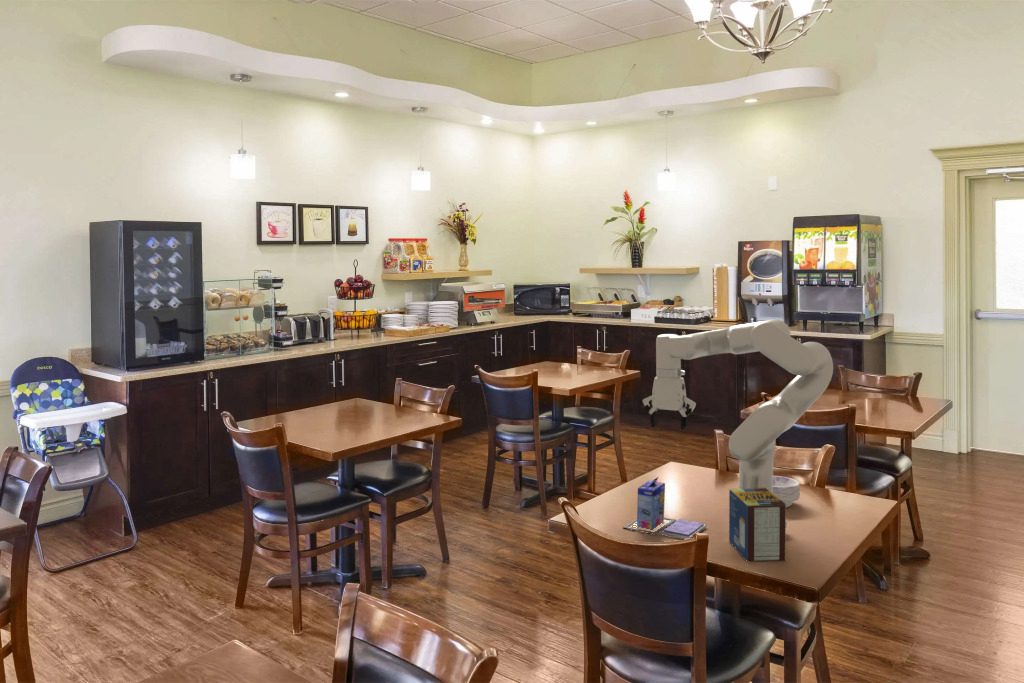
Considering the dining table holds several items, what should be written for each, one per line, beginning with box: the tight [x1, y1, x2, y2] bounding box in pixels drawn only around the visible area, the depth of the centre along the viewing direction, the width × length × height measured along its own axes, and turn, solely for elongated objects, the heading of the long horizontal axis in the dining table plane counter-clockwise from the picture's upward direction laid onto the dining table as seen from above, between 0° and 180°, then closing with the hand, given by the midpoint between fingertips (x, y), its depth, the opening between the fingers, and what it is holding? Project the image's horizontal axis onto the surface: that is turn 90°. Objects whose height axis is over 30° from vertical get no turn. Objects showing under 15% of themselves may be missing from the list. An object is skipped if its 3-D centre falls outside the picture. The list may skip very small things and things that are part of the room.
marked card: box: [622, 516, 677, 535], centre depth 232 cm, size 11×15×1 cm
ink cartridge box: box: [636, 476, 666, 530], centre depth 231 cm, size 10×6×14 cm, turn 148°
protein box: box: [728, 488, 787, 562], centre depth 209 cm, size 10×15×16 cm
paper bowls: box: [773, 475, 801, 508], centre depth 250 cm, size 15×15×8 cm
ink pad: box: [661, 518, 707, 540], centre depth 226 cm, size 9×13×2 cm
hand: (668, 427), depth 242 cm, fingers open, 9 cm apart
